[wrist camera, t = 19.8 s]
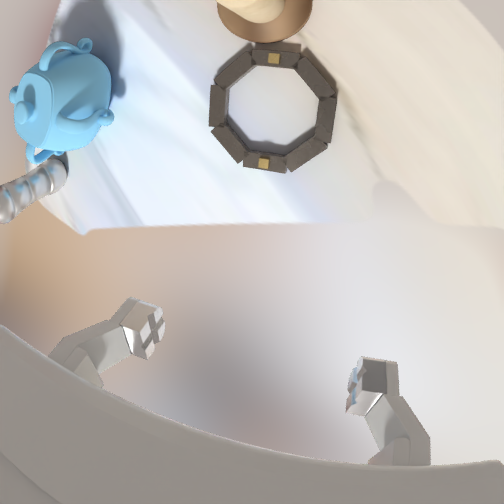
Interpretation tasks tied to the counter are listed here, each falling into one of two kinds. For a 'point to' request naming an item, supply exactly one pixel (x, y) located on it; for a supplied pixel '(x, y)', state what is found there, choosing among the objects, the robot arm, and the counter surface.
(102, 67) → the decorative pot
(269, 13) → the candle
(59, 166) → the plastic bottle
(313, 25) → the counter surface
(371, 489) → the robot arm
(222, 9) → the coaster
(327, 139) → the collar
